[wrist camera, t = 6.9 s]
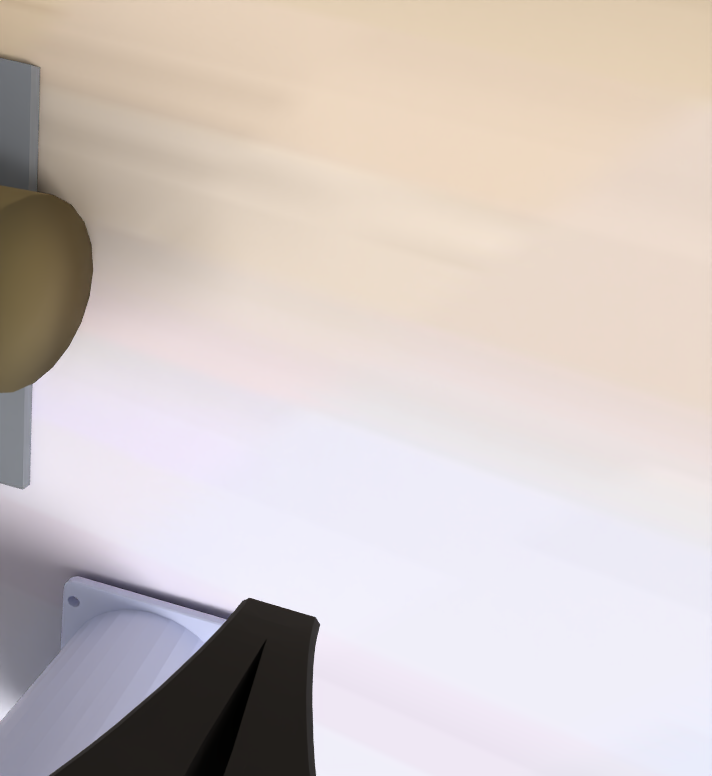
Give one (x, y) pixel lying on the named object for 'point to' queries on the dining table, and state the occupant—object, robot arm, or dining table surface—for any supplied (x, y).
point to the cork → (39, 283)
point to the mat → (19, 170)
